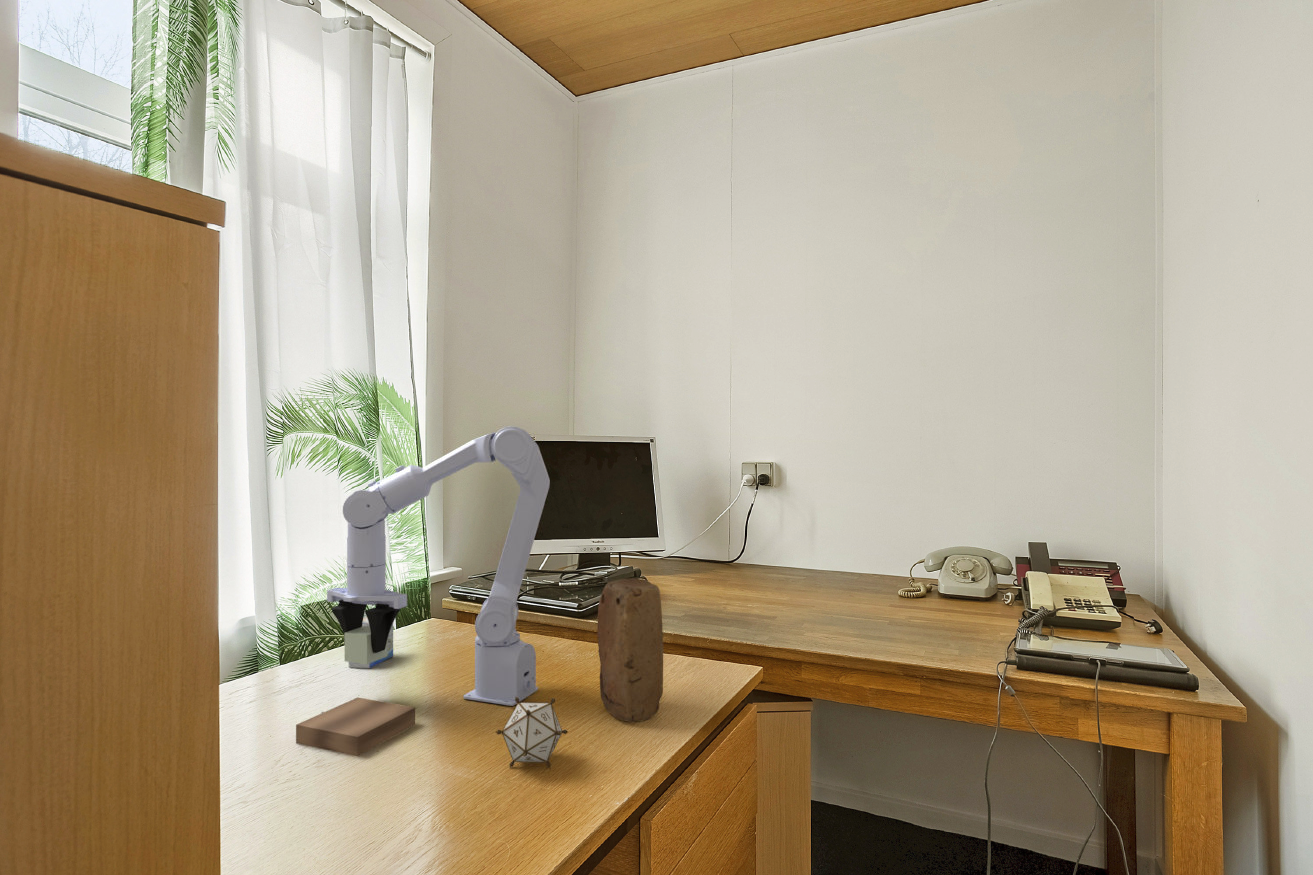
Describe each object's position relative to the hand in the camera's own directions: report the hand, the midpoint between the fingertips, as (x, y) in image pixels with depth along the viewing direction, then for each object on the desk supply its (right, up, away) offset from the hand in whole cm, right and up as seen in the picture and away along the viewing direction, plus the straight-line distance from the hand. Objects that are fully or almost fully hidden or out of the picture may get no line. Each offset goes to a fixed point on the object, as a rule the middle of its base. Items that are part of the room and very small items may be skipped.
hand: (366, 649), depth 110 cm
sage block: (0, -1, 0) cm, 1 cm away
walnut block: (+4, -9, -12) cm, 16 cm away
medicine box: (-8, -9, +20) cm, 23 cm away
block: (+42, -8, -4) cm, 43 cm away
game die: (+30, -8, -21) cm, 38 cm away
